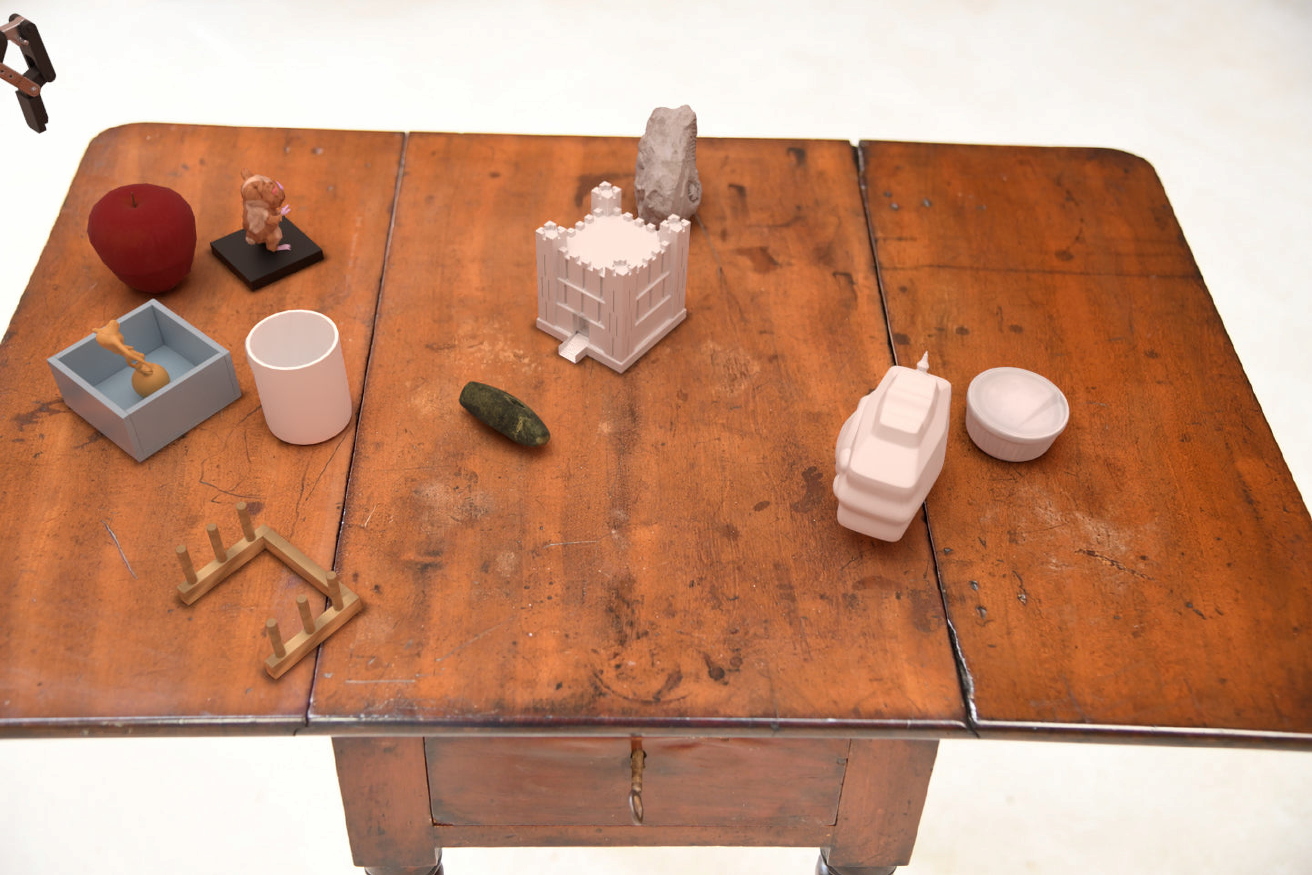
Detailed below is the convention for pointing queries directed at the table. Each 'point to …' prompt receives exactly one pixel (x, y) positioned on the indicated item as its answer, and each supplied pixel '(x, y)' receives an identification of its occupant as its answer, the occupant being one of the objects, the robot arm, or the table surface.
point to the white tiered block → (892, 451)
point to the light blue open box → (151, 423)
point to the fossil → (667, 167)
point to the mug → (300, 376)
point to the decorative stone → (504, 414)
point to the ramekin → (1014, 413)
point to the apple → (144, 235)
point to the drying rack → (324, 581)
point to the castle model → (611, 282)
